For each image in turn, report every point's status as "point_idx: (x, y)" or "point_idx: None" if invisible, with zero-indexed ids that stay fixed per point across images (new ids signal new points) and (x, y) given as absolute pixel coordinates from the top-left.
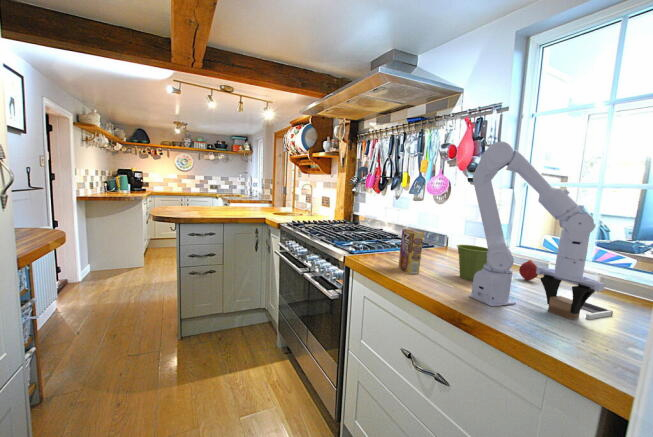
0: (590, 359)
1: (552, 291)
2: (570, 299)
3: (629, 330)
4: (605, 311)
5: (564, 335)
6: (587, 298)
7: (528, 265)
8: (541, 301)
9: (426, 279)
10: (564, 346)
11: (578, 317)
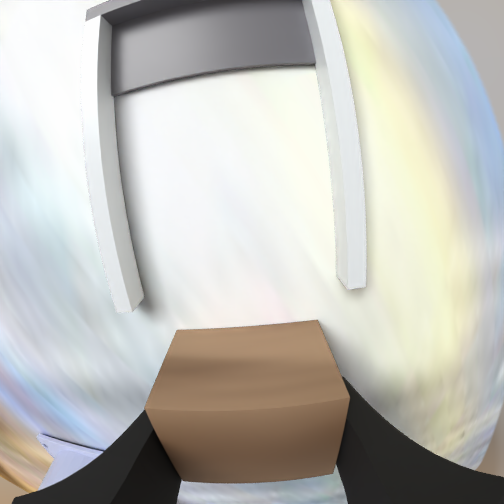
0: None
1: (162, 499)
2: (249, 413)
3: (485, 172)
4: (323, 23)
5: None
6: (426, 455)
7: None
8: (45, 287)
9: (5, 459)
10: None
11: (317, 324)
